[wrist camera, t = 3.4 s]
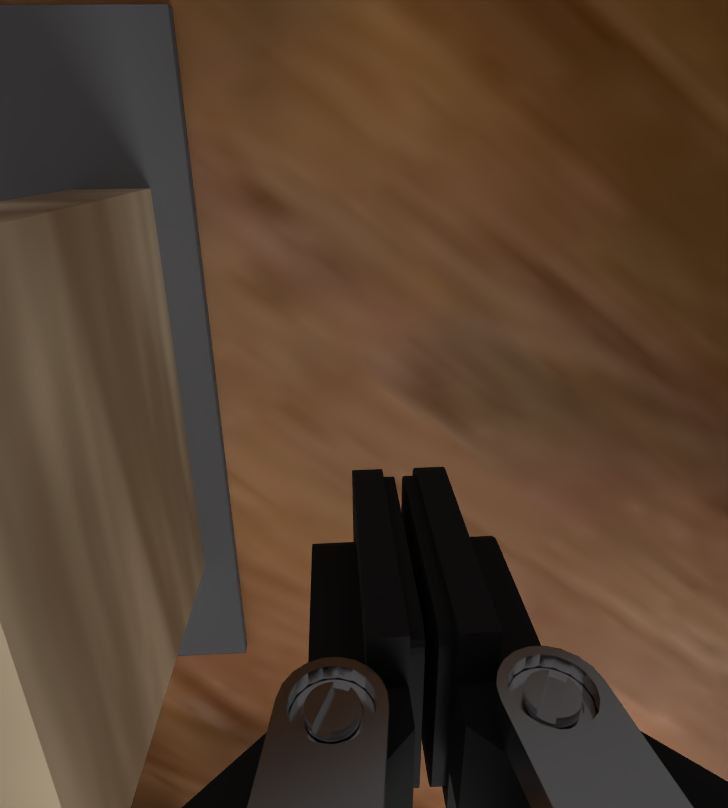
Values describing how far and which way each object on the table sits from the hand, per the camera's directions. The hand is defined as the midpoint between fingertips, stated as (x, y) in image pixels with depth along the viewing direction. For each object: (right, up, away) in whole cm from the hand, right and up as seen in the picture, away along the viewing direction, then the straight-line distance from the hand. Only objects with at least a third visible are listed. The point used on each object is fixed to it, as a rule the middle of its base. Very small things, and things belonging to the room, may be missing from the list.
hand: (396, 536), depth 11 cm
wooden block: (-7, +3, +7) cm, 10 cm away
